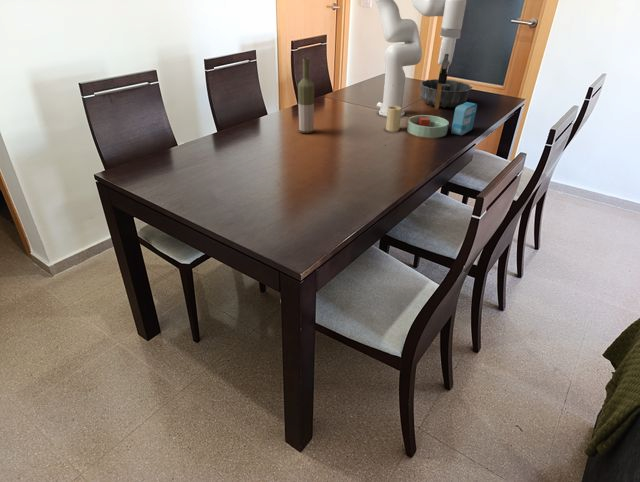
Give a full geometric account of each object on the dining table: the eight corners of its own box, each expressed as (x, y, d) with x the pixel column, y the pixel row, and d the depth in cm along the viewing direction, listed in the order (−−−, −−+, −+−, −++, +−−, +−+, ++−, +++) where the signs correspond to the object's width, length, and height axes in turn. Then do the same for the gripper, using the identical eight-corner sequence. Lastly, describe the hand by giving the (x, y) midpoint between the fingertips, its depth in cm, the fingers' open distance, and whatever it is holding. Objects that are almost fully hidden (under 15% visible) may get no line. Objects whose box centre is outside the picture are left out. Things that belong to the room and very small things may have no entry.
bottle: (317, 131, 187) (318, 58, 171) (306, 135, 183) (305, 60, 166) (306, 128, 191) (305, 56, 175) (294, 131, 187) (293, 58, 170)
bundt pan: (474, 102, 231) (478, 83, 226) (459, 114, 212) (463, 93, 207) (427, 95, 243) (430, 76, 237) (409, 105, 224) (412, 85, 219)
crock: (383, 130, 190) (385, 107, 185) (390, 127, 193) (393, 105, 188) (393, 133, 187) (396, 110, 181) (401, 130, 190) (404, 107, 185)
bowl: (399, 132, 188) (400, 120, 186) (420, 123, 199) (422, 112, 196) (433, 141, 178) (435, 130, 176) (454, 132, 189) (456, 121, 186)
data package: (460, 137, 184) (465, 108, 177) (450, 134, 186) (455, 106, 180) (472, 130, 191) (477, 103, 185) (462, 128, 194) (468, 101, 187)
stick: (434, 109, 180) (440, 69, 172) (434, 108, 182) (440, 68, 173) (438, 109, 180) (444, 69, 171) (438, 108, 181) (444, 68, 172)
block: (420, 128, 191) (421, 119, 189) (418, 126, 194) (419, 117, 192) (428, 128, 191) (430, 119, 189) (426, 126, 194) (428, 117, 192)
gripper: (441, 29, 172) (433, 77, 182) (439, 35, 159) (431, 86, 169) (460, 31, 170) (451, 79, 180) (460, 36, 158) (451, 88, 168)
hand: (441, 82), depth 175 cm, fingers closed on stick, 1 cm apart
